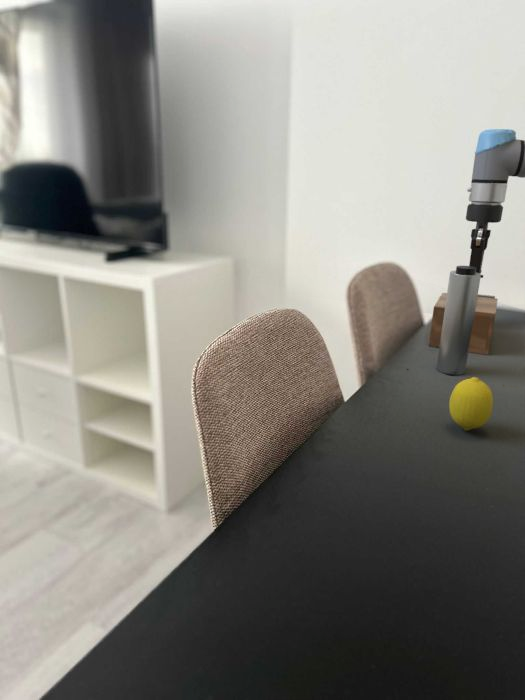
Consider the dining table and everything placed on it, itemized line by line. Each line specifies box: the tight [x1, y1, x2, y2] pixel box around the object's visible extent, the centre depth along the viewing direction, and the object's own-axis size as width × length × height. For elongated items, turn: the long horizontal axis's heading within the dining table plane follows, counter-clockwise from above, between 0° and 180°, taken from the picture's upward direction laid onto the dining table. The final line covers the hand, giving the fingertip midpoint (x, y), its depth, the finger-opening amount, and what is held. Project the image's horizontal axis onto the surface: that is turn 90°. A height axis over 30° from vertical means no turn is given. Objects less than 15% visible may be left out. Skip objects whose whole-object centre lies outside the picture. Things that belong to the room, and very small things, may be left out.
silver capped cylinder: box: [436, 265, 482, 376], centre depth 91 cm, size 5×5×19 cm
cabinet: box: [428, 292, 498, 356], centre depth 110 cm, size 15×12×9 cm
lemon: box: [448, 376, 494, 432], centre depth 71 cm, size 6×6×8 cm
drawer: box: [478, 293, 496, 298], centre depth 117 cm, size 15×10×7 cm
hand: (469, 304), depth 124 cm, fingers closed
